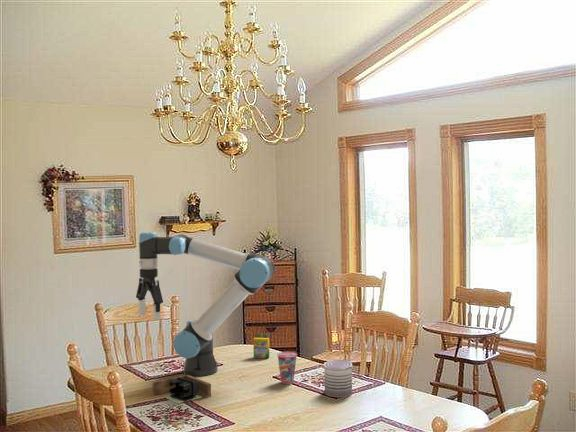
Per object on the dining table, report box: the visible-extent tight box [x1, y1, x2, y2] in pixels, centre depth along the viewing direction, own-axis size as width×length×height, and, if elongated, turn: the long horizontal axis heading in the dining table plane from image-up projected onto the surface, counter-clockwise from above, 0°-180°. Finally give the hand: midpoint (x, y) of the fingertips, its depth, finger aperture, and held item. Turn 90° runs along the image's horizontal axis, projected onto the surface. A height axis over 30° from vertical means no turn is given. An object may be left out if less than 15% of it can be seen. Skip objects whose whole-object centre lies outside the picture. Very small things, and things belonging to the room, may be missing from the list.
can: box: [323, 359, 353, 398], centre depth 255 cm, size 11×11×12 cm
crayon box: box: [253, 333, 270, 360], centre depth 311 cm, size 7×3×12 cm, turn 80°
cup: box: [277, 351, 298, 385], centre depth 270 cm, size 9×8×12 cm
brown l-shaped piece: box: [152, 374, 212, 398], centre depth 254 cm, size 16×18×5 cm
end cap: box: [169, 376, 199, 402], centre depth 252 cm, size 10×7×7 cm
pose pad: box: [165, 394, 202, 404], centre depth 252 cm, size 11×9×1 cm
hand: (149, 317), depth 278 cm, fingers open, 13 cm apart
